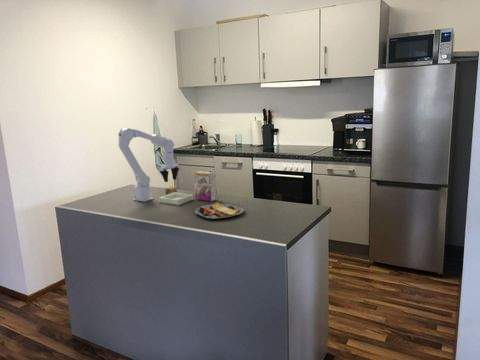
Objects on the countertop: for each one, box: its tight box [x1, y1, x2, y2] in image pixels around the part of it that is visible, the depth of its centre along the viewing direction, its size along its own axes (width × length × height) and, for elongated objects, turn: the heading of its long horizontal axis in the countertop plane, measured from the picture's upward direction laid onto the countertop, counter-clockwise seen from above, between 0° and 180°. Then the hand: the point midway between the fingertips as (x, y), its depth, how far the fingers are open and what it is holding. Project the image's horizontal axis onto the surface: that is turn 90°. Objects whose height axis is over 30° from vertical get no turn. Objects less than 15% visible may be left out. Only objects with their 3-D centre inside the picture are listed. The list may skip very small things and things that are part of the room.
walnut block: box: [164, 186, 178, 195], centre depth 246 cm, size 5×5×5 cm
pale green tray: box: [158, 191, 194, 206], centre depth 232 cm, size 14×14×3 cm
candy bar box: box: [194, 170, 217, 202], centre depth 232 cm, size 11×5×16 cm, turn 58°
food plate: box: [194, 201, 245, 220], centre depth 205 cm, size 25×23×4 cm
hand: (170, 180), depth 244 cm, fingers open, 7 cm apart
